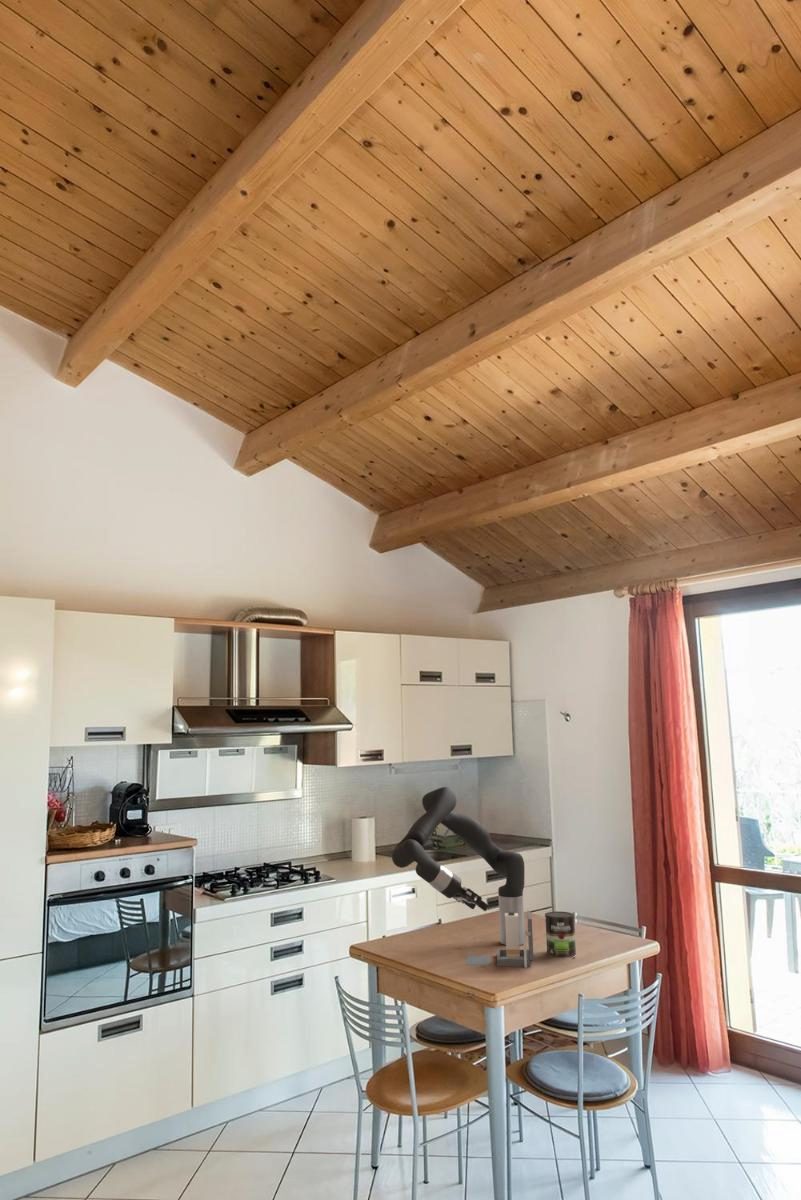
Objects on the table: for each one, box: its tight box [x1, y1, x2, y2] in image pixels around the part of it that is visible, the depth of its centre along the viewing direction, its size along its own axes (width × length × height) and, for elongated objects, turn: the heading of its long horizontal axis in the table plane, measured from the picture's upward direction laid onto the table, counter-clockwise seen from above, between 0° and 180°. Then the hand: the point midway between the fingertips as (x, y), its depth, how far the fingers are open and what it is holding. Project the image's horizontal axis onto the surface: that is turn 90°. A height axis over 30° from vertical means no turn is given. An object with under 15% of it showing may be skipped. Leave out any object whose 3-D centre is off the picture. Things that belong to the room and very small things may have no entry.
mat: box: [465, 955, 491, 966], centre depth 281 cm, size 12×8×1 cm, turn 173°
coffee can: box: [544, 911, 577, 959], centre depth 290 cm, size 10×10×14 cm
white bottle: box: [505, 912, 521, 959], centre depth 281 cm, size 5×4×16 cm
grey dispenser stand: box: [496, 910, 535, 969], centre depth 280 cm, size 15×12×16 cm
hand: (480, 907), depth 276 cm, fingers open, 8 cm apart
